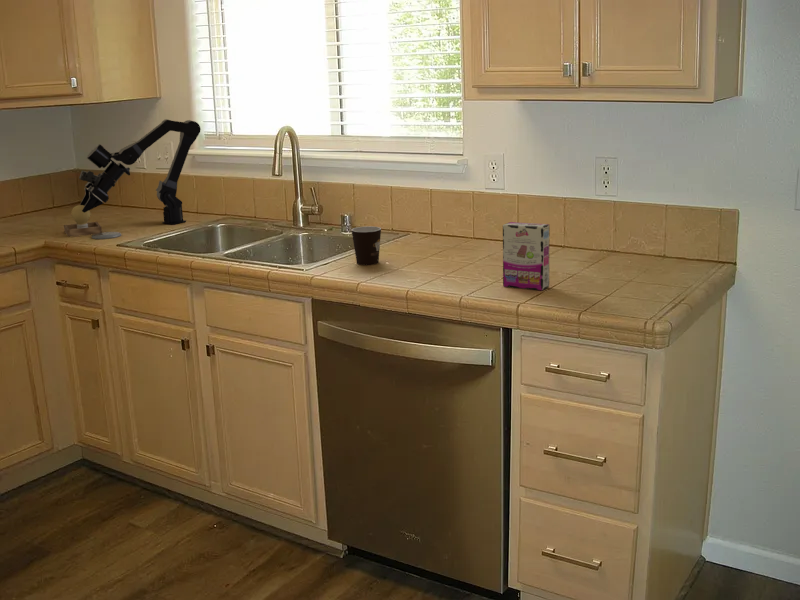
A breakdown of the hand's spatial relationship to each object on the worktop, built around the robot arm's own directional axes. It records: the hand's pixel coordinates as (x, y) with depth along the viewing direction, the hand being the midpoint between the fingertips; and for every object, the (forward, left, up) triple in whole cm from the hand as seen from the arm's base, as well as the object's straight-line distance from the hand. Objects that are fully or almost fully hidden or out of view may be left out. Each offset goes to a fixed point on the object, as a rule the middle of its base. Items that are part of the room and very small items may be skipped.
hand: (81, 210), depth 325 cm
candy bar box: (-7, +175, -8) cm, 175 cm away
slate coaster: (+1, +14, -8) cm, 16 cm away
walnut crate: (0, 0, -8) cm, 8 cm away
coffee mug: (-11, +122, -8) cm, 123 cm away
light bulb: (0, 0, -8) cm, 8 cm away
